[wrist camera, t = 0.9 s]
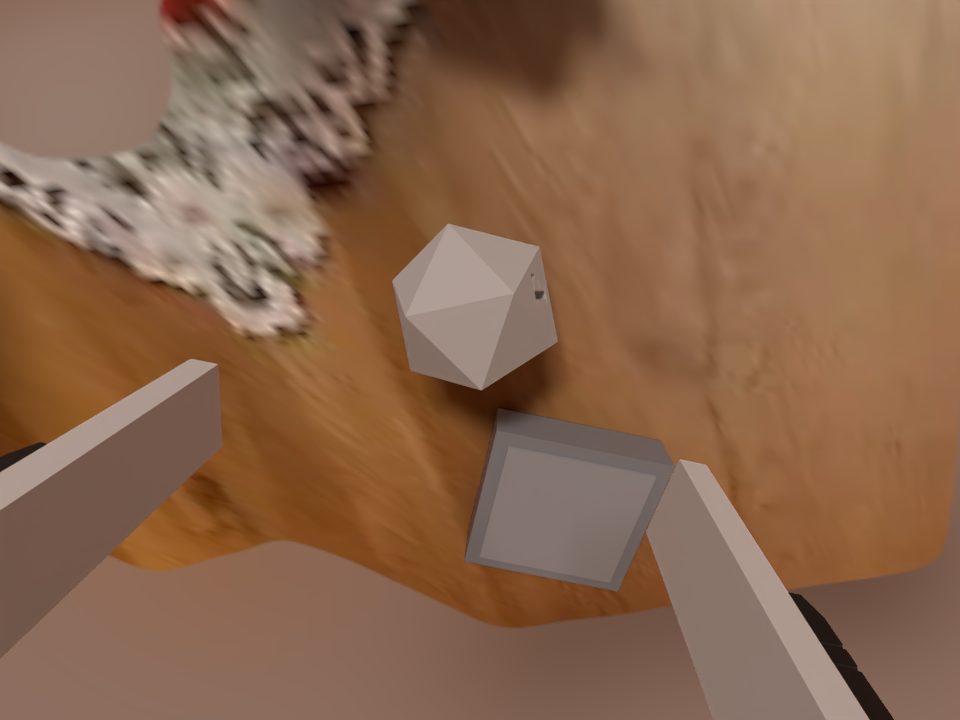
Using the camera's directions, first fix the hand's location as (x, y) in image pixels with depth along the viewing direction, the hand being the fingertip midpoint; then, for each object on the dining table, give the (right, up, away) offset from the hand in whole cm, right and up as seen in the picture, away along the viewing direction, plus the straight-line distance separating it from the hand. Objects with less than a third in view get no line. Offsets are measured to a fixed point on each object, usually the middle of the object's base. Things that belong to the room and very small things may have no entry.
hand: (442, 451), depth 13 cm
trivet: (+7, -7, +22) cm, 24 cm away
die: (+1, +7, +16) cm, 18 cm away
